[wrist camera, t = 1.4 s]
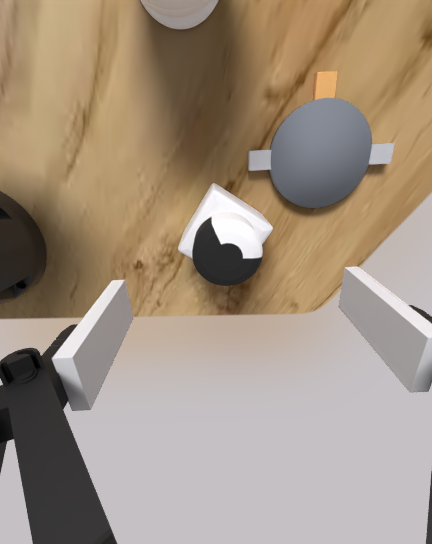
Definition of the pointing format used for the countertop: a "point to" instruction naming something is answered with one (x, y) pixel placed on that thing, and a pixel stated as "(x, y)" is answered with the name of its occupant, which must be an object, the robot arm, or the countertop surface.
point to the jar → (179, 11)
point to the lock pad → (320, 149)
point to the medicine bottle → (225, 238)
